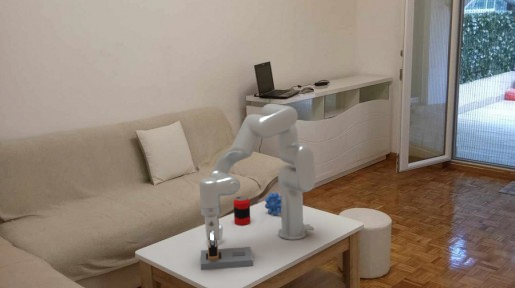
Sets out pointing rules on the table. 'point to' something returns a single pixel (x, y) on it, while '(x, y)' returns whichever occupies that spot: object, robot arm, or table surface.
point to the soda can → (241, 211)
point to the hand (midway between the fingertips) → (213, 250)
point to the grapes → (273, 203)
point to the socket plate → (227, 258)
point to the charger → (213, 256)
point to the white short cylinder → (220, 234)
